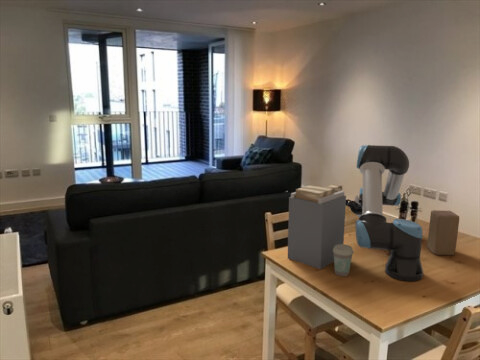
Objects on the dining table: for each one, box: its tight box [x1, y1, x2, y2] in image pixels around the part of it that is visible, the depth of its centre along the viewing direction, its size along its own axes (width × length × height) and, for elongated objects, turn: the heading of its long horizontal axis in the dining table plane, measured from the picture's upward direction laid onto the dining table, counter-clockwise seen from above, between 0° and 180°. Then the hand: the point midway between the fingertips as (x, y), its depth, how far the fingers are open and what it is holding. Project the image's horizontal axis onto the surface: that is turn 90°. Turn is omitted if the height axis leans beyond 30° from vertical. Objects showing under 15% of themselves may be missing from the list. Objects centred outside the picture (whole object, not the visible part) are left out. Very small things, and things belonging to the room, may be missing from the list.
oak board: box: [295, 183, 343, 202], centre depth 179 cm, size 28×12×4 cm, turn 136°
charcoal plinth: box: [287, 190, 347, 270], centre depth 179 cm, size 20×18×32 cm
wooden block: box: [426, 209, 460, 256], centre depth 186 cm, size 10×10×20 cm
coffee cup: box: [333, 243, 354, 277], centre depth 164 cm, size 9×8×12 cm
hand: (343, 195), depth 194 cm, fingers open, 13 cm apart
